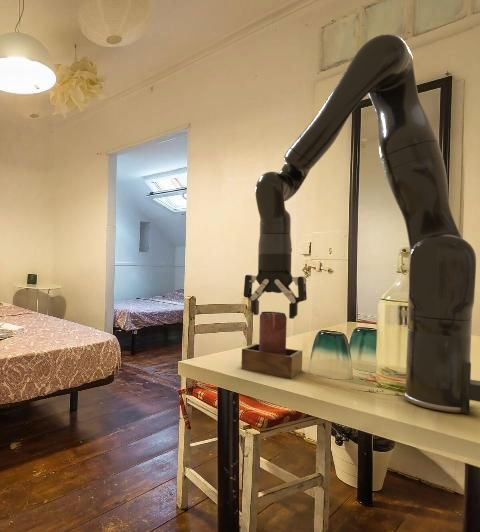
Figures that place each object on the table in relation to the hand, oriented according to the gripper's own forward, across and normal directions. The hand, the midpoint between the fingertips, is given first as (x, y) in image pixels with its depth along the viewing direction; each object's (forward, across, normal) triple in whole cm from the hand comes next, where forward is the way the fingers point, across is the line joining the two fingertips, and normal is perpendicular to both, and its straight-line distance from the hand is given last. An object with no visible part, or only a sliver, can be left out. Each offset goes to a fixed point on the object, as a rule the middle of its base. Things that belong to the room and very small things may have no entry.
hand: (273, 316), depth 100 cm
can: (+13, 0, 0) cm, 13 cm away
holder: (+14, 0, 0) cm, 14 cm away
